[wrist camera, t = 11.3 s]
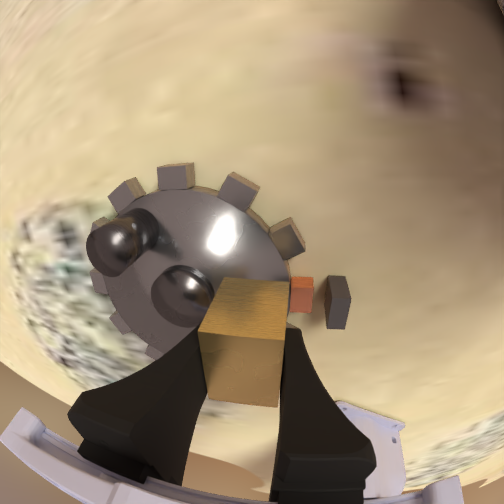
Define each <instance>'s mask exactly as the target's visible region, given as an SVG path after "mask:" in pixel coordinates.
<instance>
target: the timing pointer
mask: <svg viewBox="0 0 504 504" xmlns="http://www.w3.org/2000/svg"><path fill="white" fill-rule="evenodd" d="M350 303H351V296H350V292H349V288H348V285H347V281H346V278H345V276H328V282H327V289H326V296H325V302H324V307H325V316H326V326H327V329H345V326H346V321H347V317H348V312H349V308H350Z"/></svg>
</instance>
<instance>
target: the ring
mask: <svg viewBox="0 0 504 504" xmlns="http://www.w3.org/2000/svg"><path fill="white" fill-rule="evenodd" d="M496 1H497V3H498V5H499V7H500V9H501V11H502V13H503V15H504V0H496Z"/></svg>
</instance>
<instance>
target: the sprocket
mask: <svg viewBox="0 0 504 504" xmlns="http://www.w3.org/2000/svg"><path fill="white" fill-rule="evenodd" d="M157 174H158V185H159V190H156V191H154V192H152V193H149V194H147V195H146V193H145V191H144V190H143V188H142V186H141V185H140V183H139V182H138V180H137V178H136V177H135V178H132V179H129V180H126V181H124V182H123V183H122V184H121V185H120V186H119V187H117V188H116V189H115V190H114V191H113V192H112V193H111V194H110V195H109V196H108V198H109V200H110V201H111V203H112V205H113V206H114V208H115V210H116V211H117V213H119V214H118V216H117V217H116V218H115V219H113V220H111V221H110V220H108V219H107V218H105V217H102V218H100V219H98V220H96V221H95V222H93V224H92V228H91V233H90V234H89V236H88V238H87V242H86V250H87V254H88V257H89V260H90V262H91V263H92V265H93V266H94V267H95V268H94V269H93V270H91V271H90V275H91V279H92V282H93V286H94V289H95V292H97V293H103V294H109V296H110V298H111V301H112V303H113V305H114V306H115V308H116V311H115V312H114V313H113V314H112V315H111V316H110V320H111V321H112V322H113V323H114V325H115V326H116V327H117V328H118V330H119V331H120V332H121V333H122V334H125V333H128V332H130V331H132V330H133V331H134V332H135V333H136V334H137V335H138V336H139V337H140V338H141V339H143V340H144V341H145V342H146V343H148V344H149V345H148V347H147V350H146V352H145V354H147V355H148V356H150V357H152V358H153V359H155V360H157V359H159V358H160V357H162V356H163V355H164V354H165V353H167V352H168V351H169V350H171V349H172V348H173V347H174V346H175V345H177V344H178V343H179V342H180V341H181V340H182V339H184V338H185V337H186V336H187V335H188V334H189V333H190V332H191V331H192V330H193V329H194V328H195V327H197V326H198V325H199V324H200V323H201V322H202V321H203V319H204V317H205V315H206V313H207V311H208V309H209V307H210V305H211V303H212V301H213V299H214V297H215V295H216V293H217V291H218V289H219V287H220V285H221V283H222V281H223V279H224V277H229V278H242V279H255V280H269V281H284V282H289V295H288V308H287V316H288V313H289V307H290V312H301V313H311V310H312V300H313V290H314V286H313V278H312V277H292V281H291V275H290V269H289V264H288V261H287V260H288V259H290V258H292V257H294V256H296V255H298V254H300V253H303V252H305V242H304V240H303V238H302V236H301V234H300V233H299V231H298V229H297V227H296V225H295V224H294V222H293V220H292V218H291V217H289V218H287V219H285V220H284V221H282V222H280V223H278V224H276V225H274V226H272V227H271V228H270V227H269V226H268V225H267V224H266V223H265V222H264V221H263V219H262V218H261V217H260V216H259V215H257V214H256V213H255V212H254V211H253V210H252V209H250V208H249V207H250V205H251V203H252V201H253V200H254V198H255V196H256V194H257V193H258V191H259V189H260V186H258V185H256V184H254V183H253V182H251V181H249V180H247V179H245V178H244V177H242V176H240V175H238V174H236V173H235V172H232V173H231V174H229V175H228V176H227V178H226V180H225V182H224V184H223V185H222V187H221V189H220V191H216V190H213V189H210V188H206V187H200V186H194V185H195V171H194V163H181V164H168V165H164V166H160V167H157ZM144 195H145V196H144ZM286 328H297V327H295V326H293V325H291V324H289V323H287V322H286ZM297 329H299V328H297Z"/></svg>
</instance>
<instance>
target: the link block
mask: <svg viewBox="0 0 504 504" xmlns="http://www.w3.org/2000/svg"><path fill="white" fill-rule="evenodd" d="M288 295H289V282H284V281H269V280H255V279H242V278H229V277H224V279H223V281H222V283H221V285H220V287H219V289H218V291H217V293H216V295H215V297H214V299H213V301H212V303H211V305H210V307H209V309H208V311H207V313H206V315H205V317H204V319H203V321H202V323H201V325H200V327H199V329H198V337H199V344H200V350H201V357H202V363H203V369H204V375H205V381H206V386H207V392H208V397H209V399H213V400H219V401H226V402H233V403H240V404H248V405H256V406H266V407H278V399H279V390H280V381H281V372H282V362H283V352H284V342H285V331H286V320H287V308H288Z"/></svg>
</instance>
